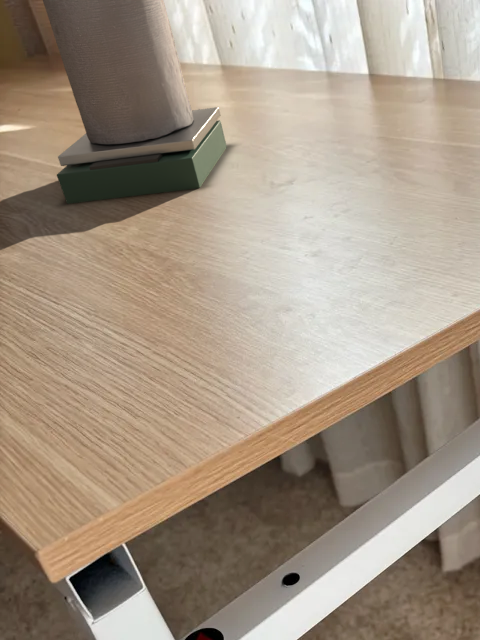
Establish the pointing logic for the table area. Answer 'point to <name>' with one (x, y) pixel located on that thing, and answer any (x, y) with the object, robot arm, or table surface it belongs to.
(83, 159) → the pan
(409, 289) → the table surface
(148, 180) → the scale
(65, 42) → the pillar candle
